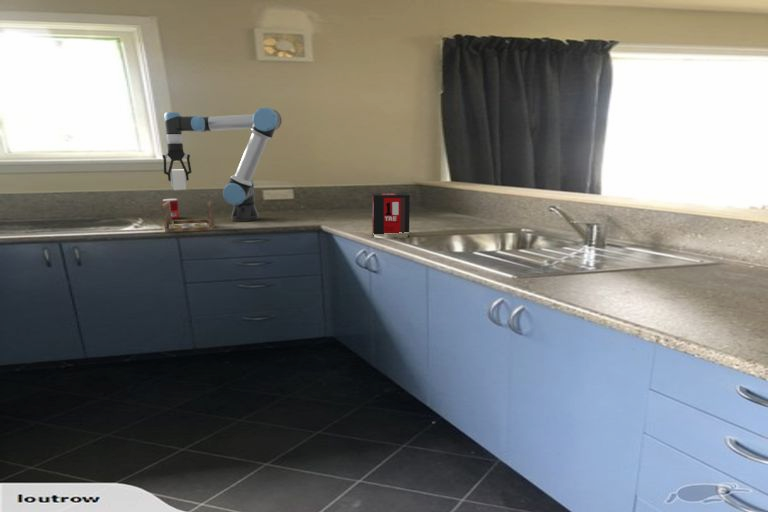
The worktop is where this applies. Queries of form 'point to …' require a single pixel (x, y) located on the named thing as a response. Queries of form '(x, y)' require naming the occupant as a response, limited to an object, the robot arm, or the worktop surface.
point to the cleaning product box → (390, 212)
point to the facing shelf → (187, 224)
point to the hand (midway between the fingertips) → (179, 186)
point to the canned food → (173, 207)
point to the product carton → (178, 179)
